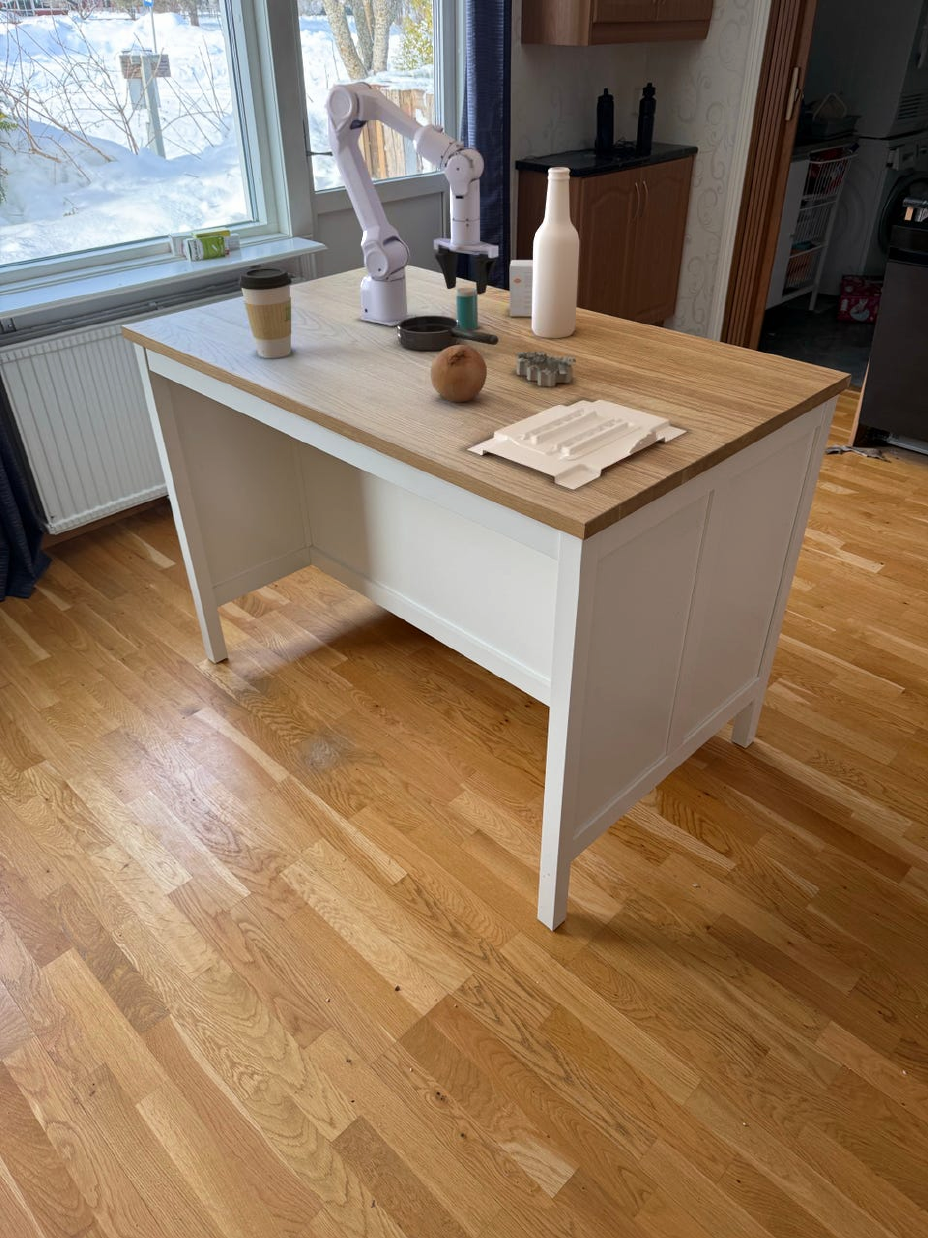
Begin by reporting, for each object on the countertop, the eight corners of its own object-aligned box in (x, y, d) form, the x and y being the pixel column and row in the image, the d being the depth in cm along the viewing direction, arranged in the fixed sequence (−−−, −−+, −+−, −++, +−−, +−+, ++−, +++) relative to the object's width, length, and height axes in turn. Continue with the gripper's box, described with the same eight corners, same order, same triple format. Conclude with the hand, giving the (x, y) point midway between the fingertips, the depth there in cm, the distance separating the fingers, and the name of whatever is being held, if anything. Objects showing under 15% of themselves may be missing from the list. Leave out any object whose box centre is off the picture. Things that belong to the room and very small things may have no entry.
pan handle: (448, 337, 173) (448, 327, 172) (454, 334, 175) (453, 325, 174) (494, 346, 168) (494, 337, 167) (500, 344, 169) (500, 334, 168)
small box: (547, 310, 196) (548, 259, 190) (546, 317, 191) (548, 265, 185) (510, 309, 197) (510, 259, 191) (508, 316, 192) (509, 265, 186)
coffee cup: (310, 348, 176) (300, 268, 168) (281, 363, 169) (270, 280, 160) (268, 343, 180) (257, 264, 171) (238, 357, 172) (225, 276, 164)
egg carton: (577, 382, 157) (579, 359, 155) (540, 389, 154) (541, 366, 152) (546, 365, 165) (547, 342, 163) (510, 371, 162) (511, 349, 160)
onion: (465, 423, 150) (465, 380, 141) (420, 399, 153) (417, 355, 144) (497, 388, 154) (499, 344, 145) (452, 365, 156) (451, 321, 148)
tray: (465, 449, 133) (466, 425, 131) (581, 405, 150) (583, 383, 148) (574, 490, 121) (576, 464, 119) (686, 437, 138) (690, 414, 136)
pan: (386, 344, 177) (385, 326, 175) (425, 329, 185) (424, 312, 183) (434, 355, 171) (433, 336, 169) (472, 339, 179) (472, 321, 177)
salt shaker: (452, 328, 186) (451, 290, 182) (465, 322, 189) (464, 286, 185) (469, 331, 184) (469, 293, 179) (482, 326, 187) (481, 288, 182)
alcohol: (569, 340, 177) (577, 172, 161) (526, 336, 180) (529, 171, 163) (579, 327, 184) (587, 165, 167) (537, 324, 187) (542, 164, 170)
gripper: (423, 218, 176) (426, 289, 183) (483, 225, 168) (483, 300, 176) (445, 212, 180) (447, 282, 188) (504, 219, 173) (503, 292, 180)
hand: (466, 290), depth 182 cm, fingers open, 7 cm apart
